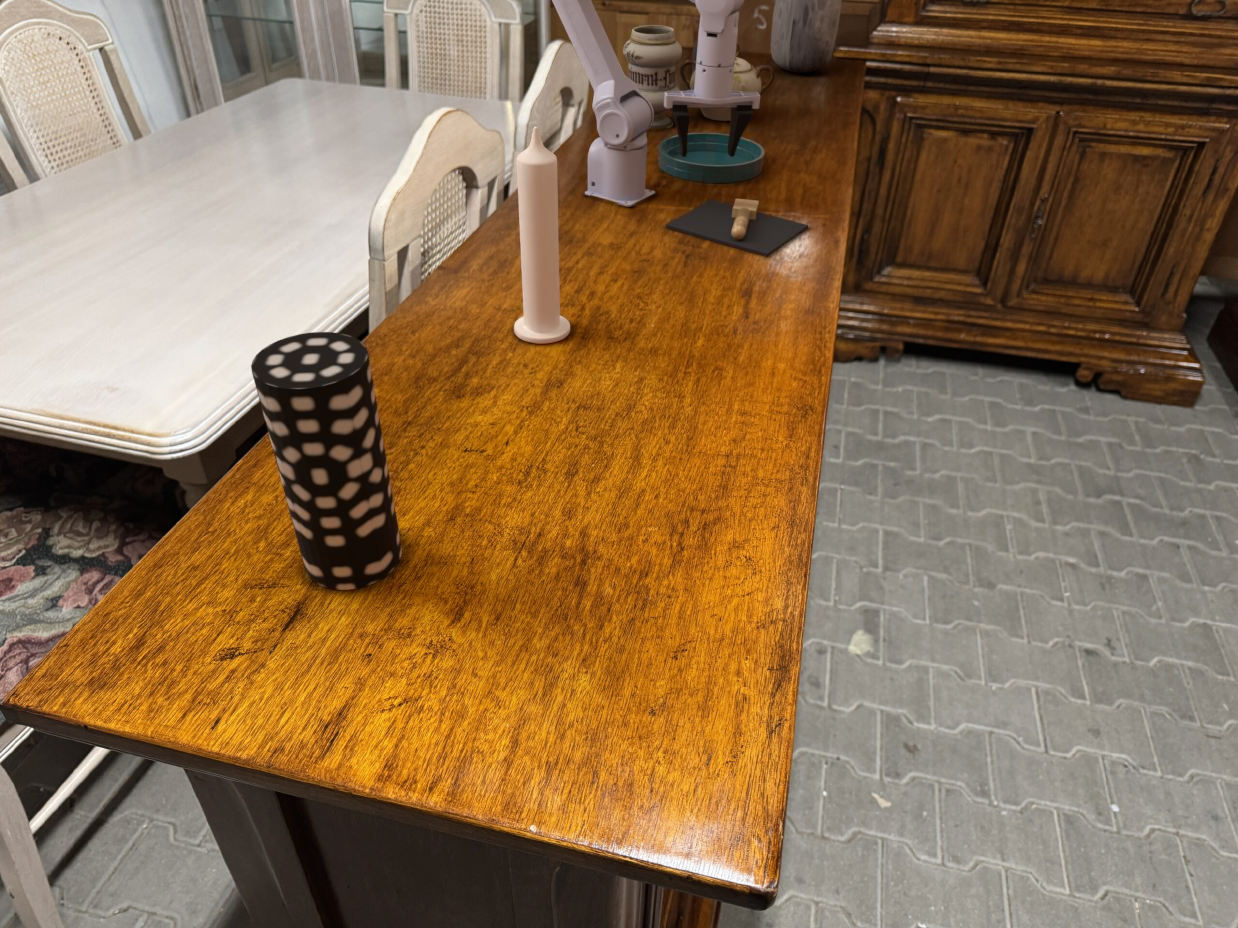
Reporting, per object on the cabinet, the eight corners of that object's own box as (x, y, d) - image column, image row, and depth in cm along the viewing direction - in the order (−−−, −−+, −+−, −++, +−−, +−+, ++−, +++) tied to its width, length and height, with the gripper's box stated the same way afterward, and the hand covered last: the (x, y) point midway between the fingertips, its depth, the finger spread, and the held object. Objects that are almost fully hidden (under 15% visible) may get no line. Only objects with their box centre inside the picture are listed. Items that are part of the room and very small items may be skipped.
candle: (527, 349, 107) (517, 140, 92) (505, 324, 112) (493, 121, 97) (579, 337, 109) (579, 132, 94) (556, 313, 114) (552, 114, 99)
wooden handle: (734, 207, 144) (736, 194, 143) (757, 210, 144) (759, 197, 142) (724, 241, 133) (725, 227, 132) (749, 243, 133) (751, 229, 131)
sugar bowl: (767, 108, 194) (776, 34, 185) (770, 128, 182) (780, 50, 173) (678, 104, 195) (683, 30, 186) (675, 123, 183) (680, 46, 174)
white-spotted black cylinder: (314, 526, 80) (265, 333, 68) (406, 523, 81) (375, 330, 69) (295, 592, 73) (238, 390, 61) (396, 587, 74) (359, 387, 62)
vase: (815, 82, 213) (837, -60, 195) (756, 72, 220) (771, -67, 202) (840, 70, 224) (862, -67, 206) (782, 60, 231) (799, -73, 212)
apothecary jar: (612, 127, 180) (613, 31, 169) (633, 112, 189) (636, 20, 178) (667, 135, 176) (672, 38, 166) (686, 119, 185) (692, 26, 175)
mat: (665, 227, 138) (665, 224, 138) (710, 202, 147) (710, 199, 147) (767, 257, 130) (767, 253, 130) (808, 228, 139) (808, 225, 139)
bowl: (637, 170, 159) (638, 151, 157) (692, 144, 172) (694, 126, 170) (729, 194, 151) (731, 174, 149) (780, 165, 163) (783, 146, 161)
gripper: (756, 57, 134) (746, 146, 143) (663, 56, 133) (658, 146, 141) (767, 68, 129) (756, 161, 137) (670, 67, 127) (664, 161, 136)
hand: (707, 154), depth 139 cm, fingers open, 7 cm apart
